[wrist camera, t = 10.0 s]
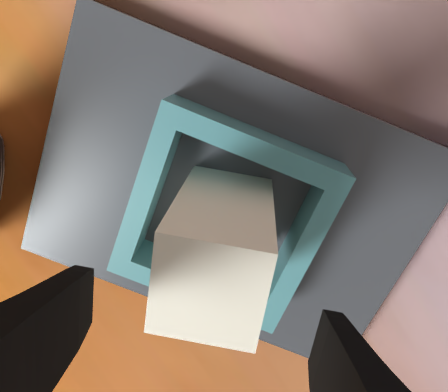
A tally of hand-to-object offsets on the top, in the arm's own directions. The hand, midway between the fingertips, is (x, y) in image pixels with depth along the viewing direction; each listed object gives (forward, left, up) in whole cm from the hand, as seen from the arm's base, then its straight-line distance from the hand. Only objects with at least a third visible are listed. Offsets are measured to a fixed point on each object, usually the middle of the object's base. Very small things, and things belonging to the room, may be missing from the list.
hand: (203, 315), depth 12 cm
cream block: (0, 0, -9) cm, 9 cm away
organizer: (0, 0, -10) cm, 10 cm away
